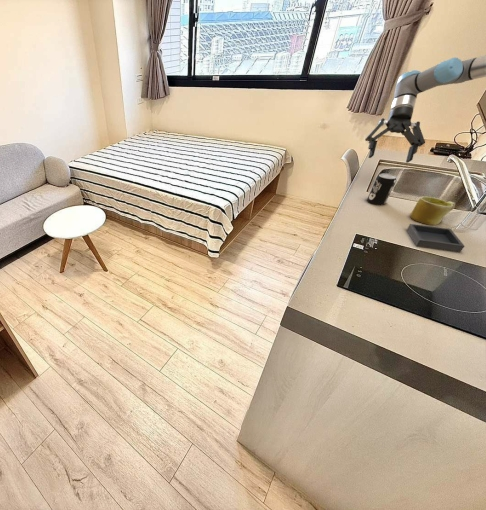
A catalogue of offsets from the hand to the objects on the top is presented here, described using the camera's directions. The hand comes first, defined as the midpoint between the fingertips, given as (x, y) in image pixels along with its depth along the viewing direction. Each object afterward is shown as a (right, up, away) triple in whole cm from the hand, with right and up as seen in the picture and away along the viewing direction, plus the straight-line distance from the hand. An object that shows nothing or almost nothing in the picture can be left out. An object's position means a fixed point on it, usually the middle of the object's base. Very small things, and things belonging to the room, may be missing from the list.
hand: (389, 158), depth 116 cm
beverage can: (-4, -18, +3) cm, 19 cm away
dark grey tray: (-5, -36, -22) cm, 42 cm away
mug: (+5, -27, -11) cm, 30 cm away
